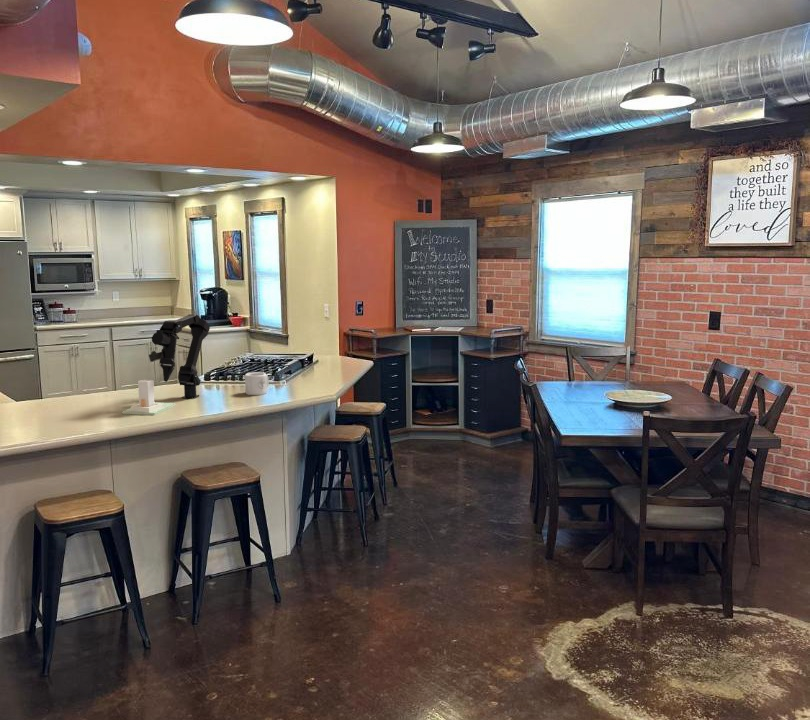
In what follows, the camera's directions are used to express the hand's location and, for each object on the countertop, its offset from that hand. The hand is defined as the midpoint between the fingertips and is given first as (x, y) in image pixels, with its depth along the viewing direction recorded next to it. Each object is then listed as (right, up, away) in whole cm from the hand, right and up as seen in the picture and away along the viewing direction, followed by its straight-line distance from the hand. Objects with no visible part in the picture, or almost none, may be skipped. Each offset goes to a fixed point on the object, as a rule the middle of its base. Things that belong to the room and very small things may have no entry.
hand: (165, 381), depth 315 cm
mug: (+36, -7, +33) cm, 49 cm away
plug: (-5, -12, -10) cm, 16 cm away
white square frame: (-5, -13, -10) cm, 17 cm away
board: (-5, -13, -6) cm, 15 cm away
